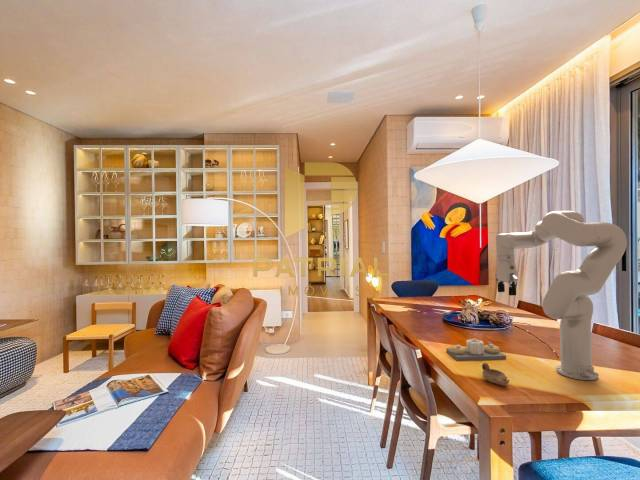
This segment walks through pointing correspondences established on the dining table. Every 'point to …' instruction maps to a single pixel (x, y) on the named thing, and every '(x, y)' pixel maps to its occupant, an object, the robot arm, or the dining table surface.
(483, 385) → the dining table surface
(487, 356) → the gear board
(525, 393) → the dining table surface
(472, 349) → the loose gear
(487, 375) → the brown duck figurine
